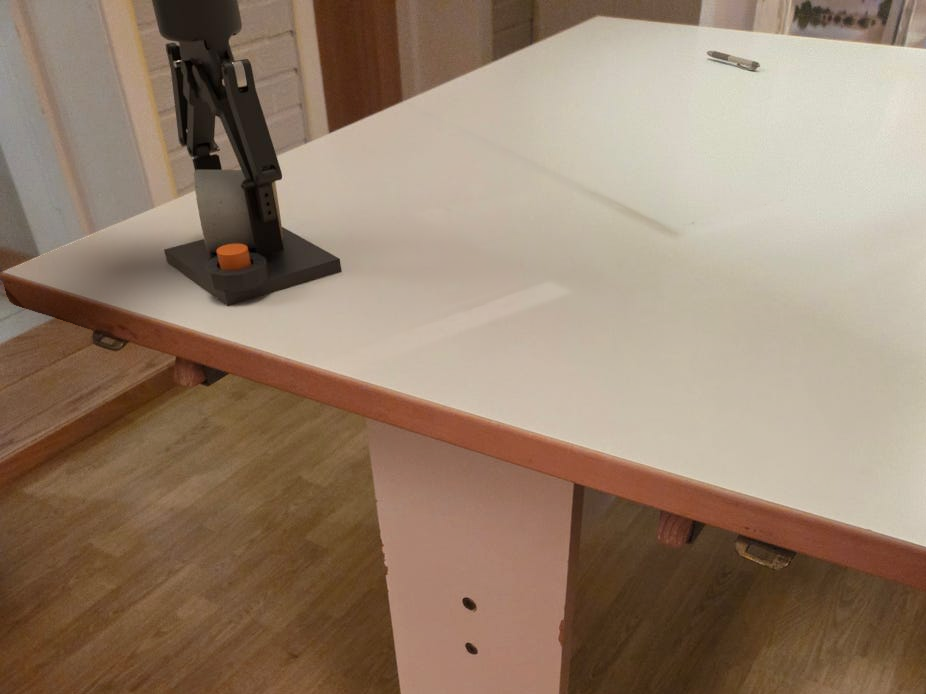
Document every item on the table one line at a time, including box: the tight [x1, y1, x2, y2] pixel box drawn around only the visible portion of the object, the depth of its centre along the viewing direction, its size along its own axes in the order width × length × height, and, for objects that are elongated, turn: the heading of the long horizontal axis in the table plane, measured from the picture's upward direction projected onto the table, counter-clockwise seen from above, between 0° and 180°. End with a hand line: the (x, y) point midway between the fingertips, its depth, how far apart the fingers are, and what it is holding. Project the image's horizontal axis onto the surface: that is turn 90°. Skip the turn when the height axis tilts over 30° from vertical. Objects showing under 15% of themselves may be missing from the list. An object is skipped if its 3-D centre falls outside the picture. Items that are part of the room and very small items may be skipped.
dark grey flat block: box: [163, 226, 342, 307], centre depth 91 cm, size 16×14×3 cm
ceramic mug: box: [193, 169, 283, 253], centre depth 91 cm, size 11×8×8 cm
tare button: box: [217, 243, 251, 271], centre depth 85 cm, size 3×3×2 cm
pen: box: [706, 50, 761, 71], centre depth 153 cm, size 1×14×1 cm, turn 29°
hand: (244, 236), depth 93 cm, fingers open, 11 cm apart
